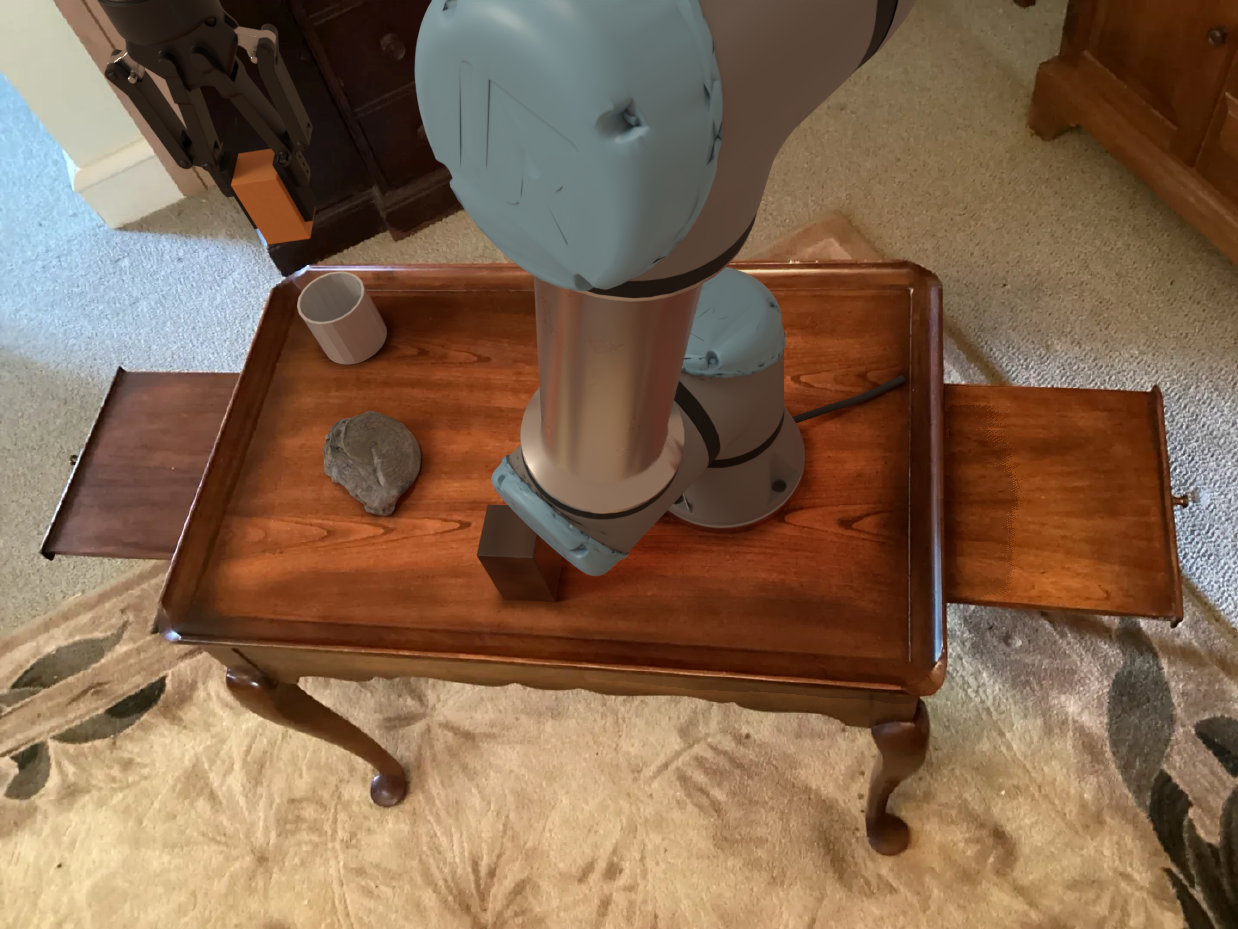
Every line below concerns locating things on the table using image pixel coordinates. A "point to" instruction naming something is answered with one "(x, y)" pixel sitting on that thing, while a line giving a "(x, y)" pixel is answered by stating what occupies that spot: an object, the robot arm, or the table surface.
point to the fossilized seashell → (372, 459)
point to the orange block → (268, 198)
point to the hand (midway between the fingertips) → (285, 213)
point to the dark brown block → (517, 557)
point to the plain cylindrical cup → (342, 317)
